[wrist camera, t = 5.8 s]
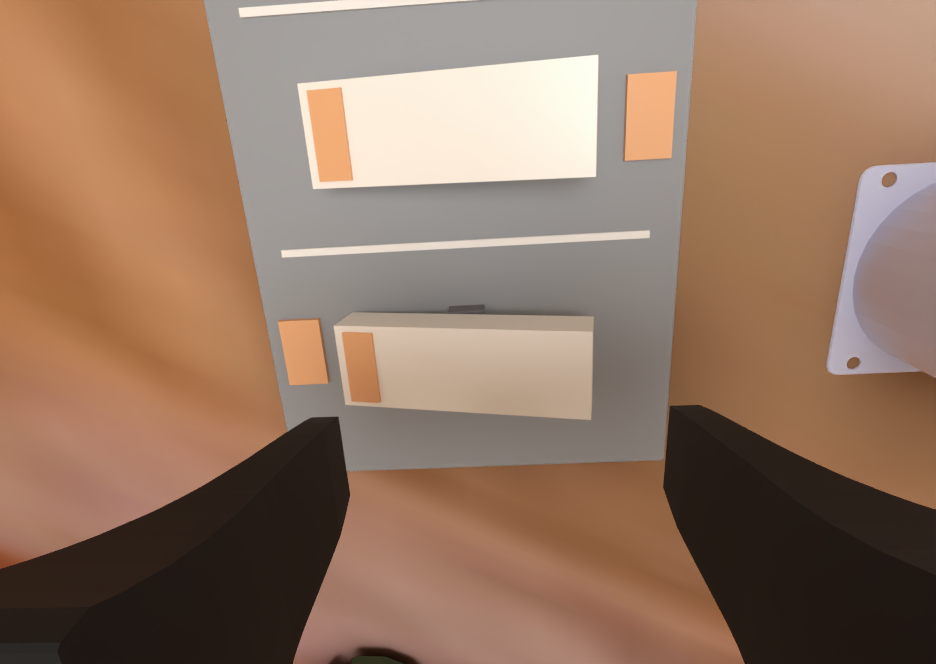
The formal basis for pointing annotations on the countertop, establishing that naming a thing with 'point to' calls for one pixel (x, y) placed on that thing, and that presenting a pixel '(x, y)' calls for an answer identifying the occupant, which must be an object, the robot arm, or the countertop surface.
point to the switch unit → (467, 215)
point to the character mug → (373, 660)
